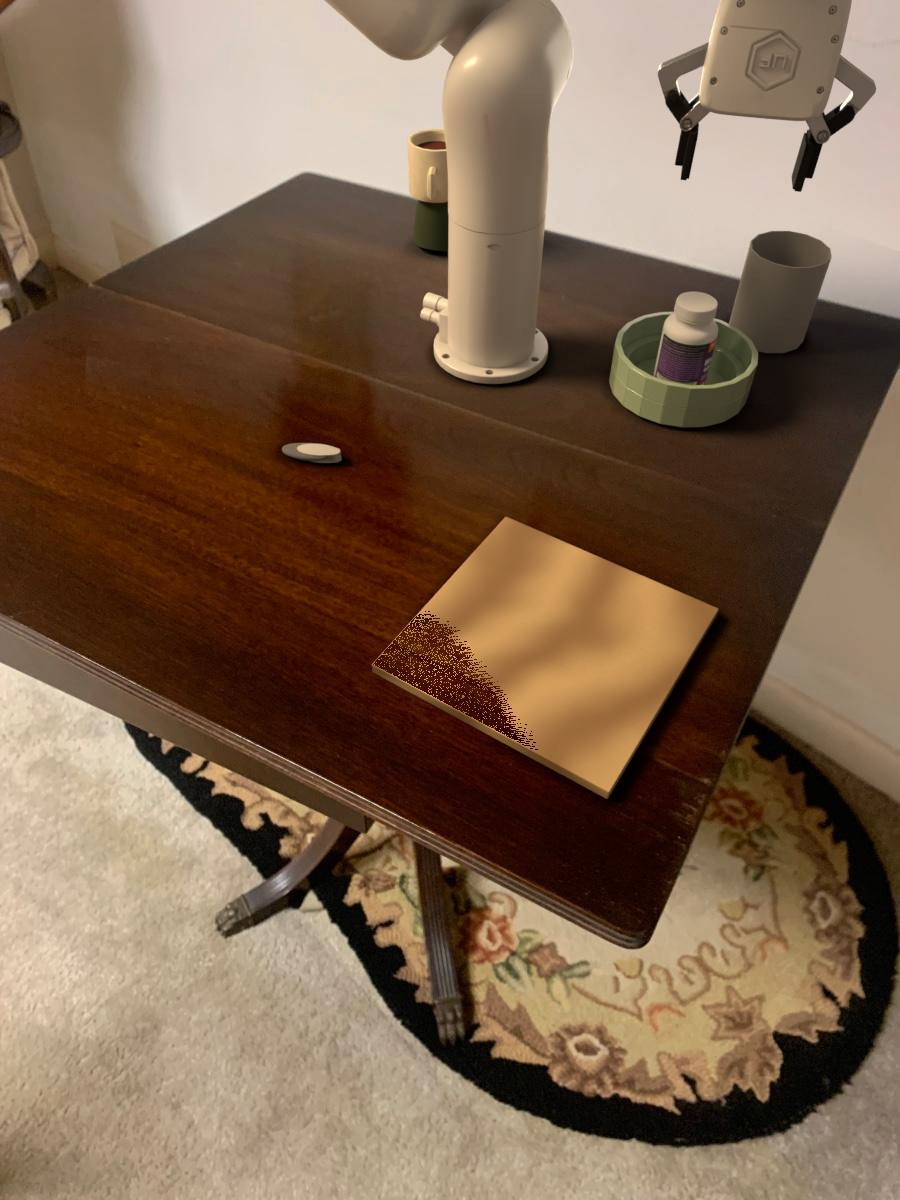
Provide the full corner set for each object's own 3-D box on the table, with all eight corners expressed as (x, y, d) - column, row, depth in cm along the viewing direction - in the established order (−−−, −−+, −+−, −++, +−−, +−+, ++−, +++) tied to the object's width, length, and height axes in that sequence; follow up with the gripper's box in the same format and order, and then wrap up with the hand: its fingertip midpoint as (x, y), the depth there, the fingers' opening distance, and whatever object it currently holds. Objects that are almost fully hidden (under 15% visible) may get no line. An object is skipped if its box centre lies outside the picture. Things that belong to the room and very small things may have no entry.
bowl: (585, 400, 92) (592, 358, 88) (643, 339, 100) (651, 298, 96) (715, 447, 87) (727, 405, 83) (764, 378, 95) (777, 337, 91)
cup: (804, 357, 98) (834, 271, 90) (728, 348, 99) (751, 263, 91) (800, 318, 103) (827, 234, 96) (728, 310, 104) (750, 227, 97)
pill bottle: (707, 401, 91) (730, 316, 84) (655, 401, 91) (673, 315, 84) (698, 372, 95) (719, 287, 88) (648, 371, 95) (665, 286, 88)
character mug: (459, 267, 111) (461, 159, 101) (403, 263, 112) (400, 155, 102) (469, 228, 118) (471, 124, 109) (416, 224, 119) (414, 120, 109)
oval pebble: (278, 460, 86) (276, 451, 85) (289, 445, 87) (286, 436, 86) (336, 469, 84) (334, 459, 83) (345, 453, 85) (344, 444, 85)
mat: (372, 672, 68) (371, 664, 67) (505, 524, 79) (505, 515, 78) (607, 799, 61) (609, 792, 60) (716, 616, 72) (719, 608, 71)
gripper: (678, -53, 64) (638, 187, 77) (928, -37, 62) (844, 208, 75) (682, -75, 69) (644, 153, 82) (914, -61, 67) (838, 172, 79)
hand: (740, 179), depth 78 cm, fingers open, 9 cm apart
